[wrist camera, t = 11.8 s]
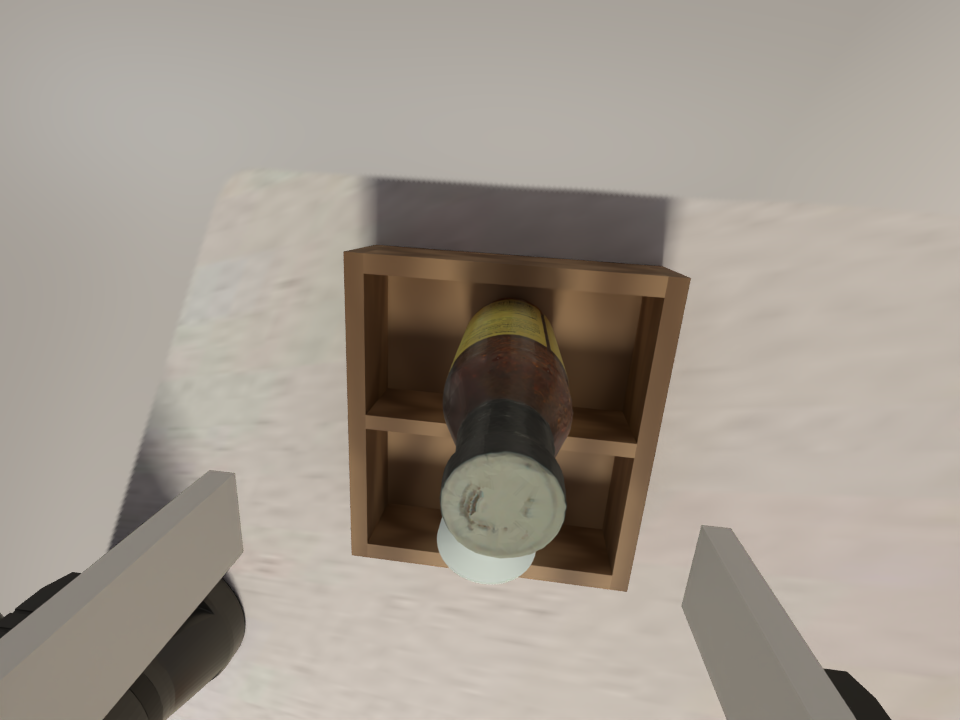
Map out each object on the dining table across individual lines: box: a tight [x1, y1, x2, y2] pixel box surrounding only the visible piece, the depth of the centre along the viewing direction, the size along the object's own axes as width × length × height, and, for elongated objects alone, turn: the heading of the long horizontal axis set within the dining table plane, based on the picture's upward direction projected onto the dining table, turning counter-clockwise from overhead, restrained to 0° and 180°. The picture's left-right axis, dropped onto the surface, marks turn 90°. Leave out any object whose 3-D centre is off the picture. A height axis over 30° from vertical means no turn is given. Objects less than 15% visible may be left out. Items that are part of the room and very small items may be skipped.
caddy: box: [344, 245, 691, 592], centre depth 33 cm, size 20×22×6 cm
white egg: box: [437, 517, 536, 585], centre depth 32 cm, size 6×6×9 cm
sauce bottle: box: [439, 298, 573, 558], centre depth 24 cm, size 6×6×20 cm
